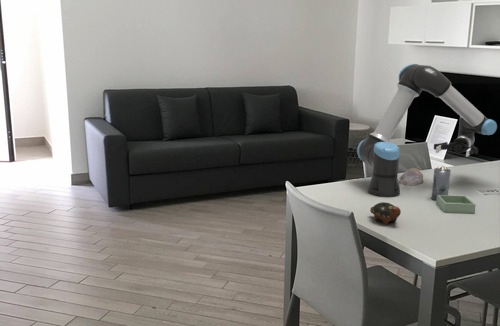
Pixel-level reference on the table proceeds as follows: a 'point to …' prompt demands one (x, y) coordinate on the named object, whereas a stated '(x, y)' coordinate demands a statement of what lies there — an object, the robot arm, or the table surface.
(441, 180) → the can
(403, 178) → the stone
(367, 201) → the table surface
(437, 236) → the table surface
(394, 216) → the decorative turtle
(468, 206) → the bin
